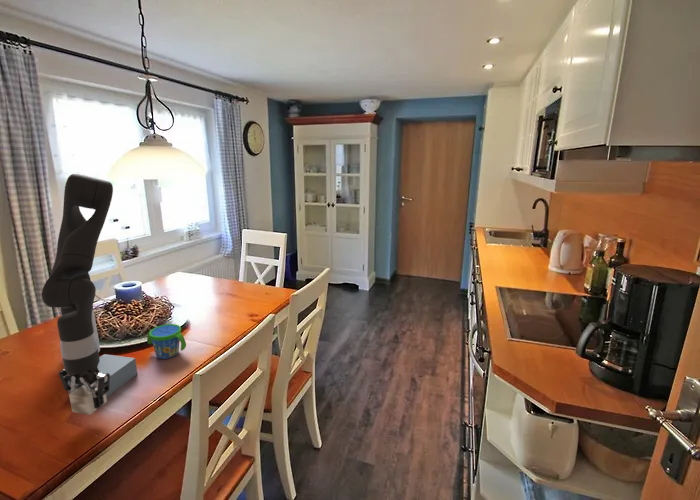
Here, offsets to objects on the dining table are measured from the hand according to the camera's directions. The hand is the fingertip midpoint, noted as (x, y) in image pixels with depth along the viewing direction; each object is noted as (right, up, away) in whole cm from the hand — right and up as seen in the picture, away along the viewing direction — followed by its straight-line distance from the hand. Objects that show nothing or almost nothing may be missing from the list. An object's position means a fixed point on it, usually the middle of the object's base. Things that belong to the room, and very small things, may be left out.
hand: (89, 404), depth 96 cm
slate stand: (-8, -1, +17) cm, 19 cm away
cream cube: (0, -1, 0) cm, 1 cm away
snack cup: (+3, +3, +35) cm, 36 cm away
